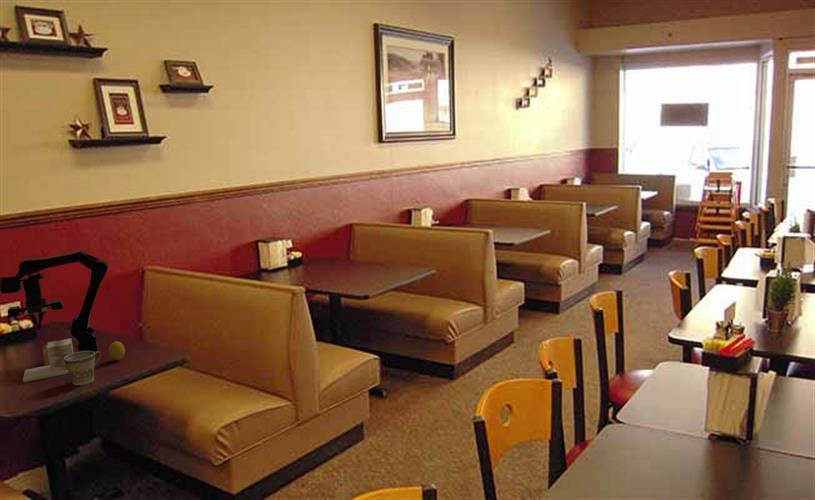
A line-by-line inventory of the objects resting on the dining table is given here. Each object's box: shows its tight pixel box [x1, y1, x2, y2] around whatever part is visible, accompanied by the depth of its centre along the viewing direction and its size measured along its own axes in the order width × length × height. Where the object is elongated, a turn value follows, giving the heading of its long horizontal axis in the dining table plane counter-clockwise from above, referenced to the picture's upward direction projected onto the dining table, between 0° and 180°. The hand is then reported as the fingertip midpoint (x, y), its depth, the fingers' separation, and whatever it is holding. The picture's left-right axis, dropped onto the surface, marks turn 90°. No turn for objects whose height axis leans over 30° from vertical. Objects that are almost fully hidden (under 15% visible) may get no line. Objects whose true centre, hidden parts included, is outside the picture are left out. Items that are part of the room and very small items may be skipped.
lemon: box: [108, 340, 126, 362], centre depth 253 cm, size 6×6×8 cm
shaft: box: [42, 344, 74, 366], centre depth 245 cm, size 10×6×6 cm, turn 116°
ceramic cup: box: [64, 350, 102, 387], centre depth 233 cm, size 13×10×10 cm
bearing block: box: [46, 337, 75, 372], centre depth 246 cm, size 8×8×10 cm
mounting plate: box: [22, 364, 69, 383], centre depth 245 cm, size 18×12×1 cm, turn 116°
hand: (39, 329), depth 257 cm, fingers closed
